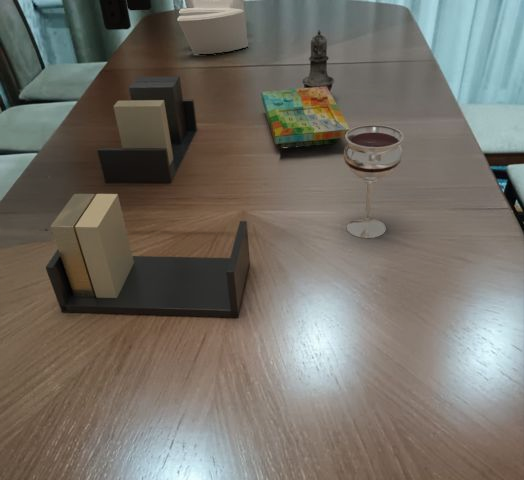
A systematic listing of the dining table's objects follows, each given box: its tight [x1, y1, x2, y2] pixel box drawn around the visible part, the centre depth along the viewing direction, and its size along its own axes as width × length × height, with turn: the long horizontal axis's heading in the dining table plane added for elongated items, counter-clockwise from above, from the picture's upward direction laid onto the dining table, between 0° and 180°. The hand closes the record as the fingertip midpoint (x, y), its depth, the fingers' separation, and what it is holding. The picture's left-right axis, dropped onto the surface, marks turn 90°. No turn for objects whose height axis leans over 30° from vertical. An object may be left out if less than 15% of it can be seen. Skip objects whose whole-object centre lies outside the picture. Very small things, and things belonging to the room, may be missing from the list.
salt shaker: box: [301, 29, 335, 93], centre depth 104 cm, size 6×6×12 cm
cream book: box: [113, 99, 173, 165], centre depth 86 cm, size 2×7×9 cm, turn 84°
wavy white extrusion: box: [177, 0, 249, 55], centre depth 139 cm, size 35×16×11 cm, turn 0°
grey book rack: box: [96, 75, 198, 185], centre depth 89 cm, size 20×10×10 cm, turn 174°
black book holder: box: [45, 193, 251, 319], centre depth 63 cm, size 20×10×10 cm, turn 84°
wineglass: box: [343, 124, 405, 239], centre depth 70 cm, size 7×7×12 cm
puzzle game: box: [260, 86, 351, 149], centre depth 96 cm, size 12×5×20 cm
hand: (129, 18), depth 75 cm, fingers open, 9 cm apart
